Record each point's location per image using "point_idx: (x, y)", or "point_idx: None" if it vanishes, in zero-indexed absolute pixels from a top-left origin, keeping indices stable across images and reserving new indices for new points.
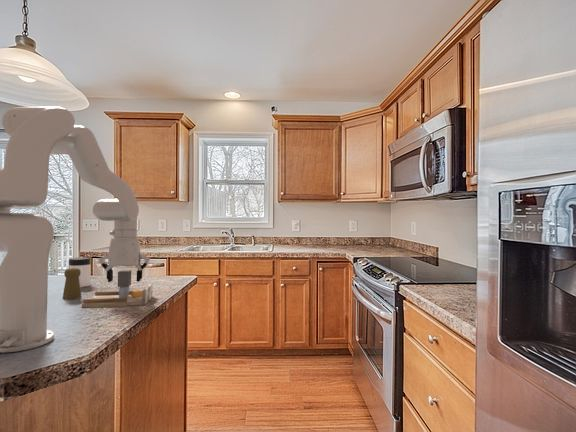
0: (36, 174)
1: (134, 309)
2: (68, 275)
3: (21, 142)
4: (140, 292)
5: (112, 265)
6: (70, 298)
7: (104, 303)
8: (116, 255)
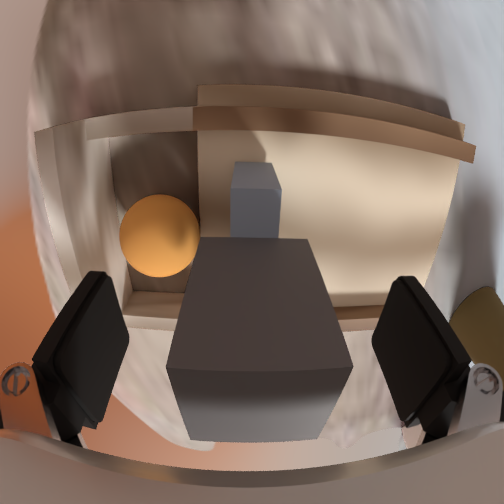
0: None
1: (129, 13)
2: None
3: None
4: (123, 231)
5: (487, 429)
6: (483, 290)
7: (351, 94)
8: None
